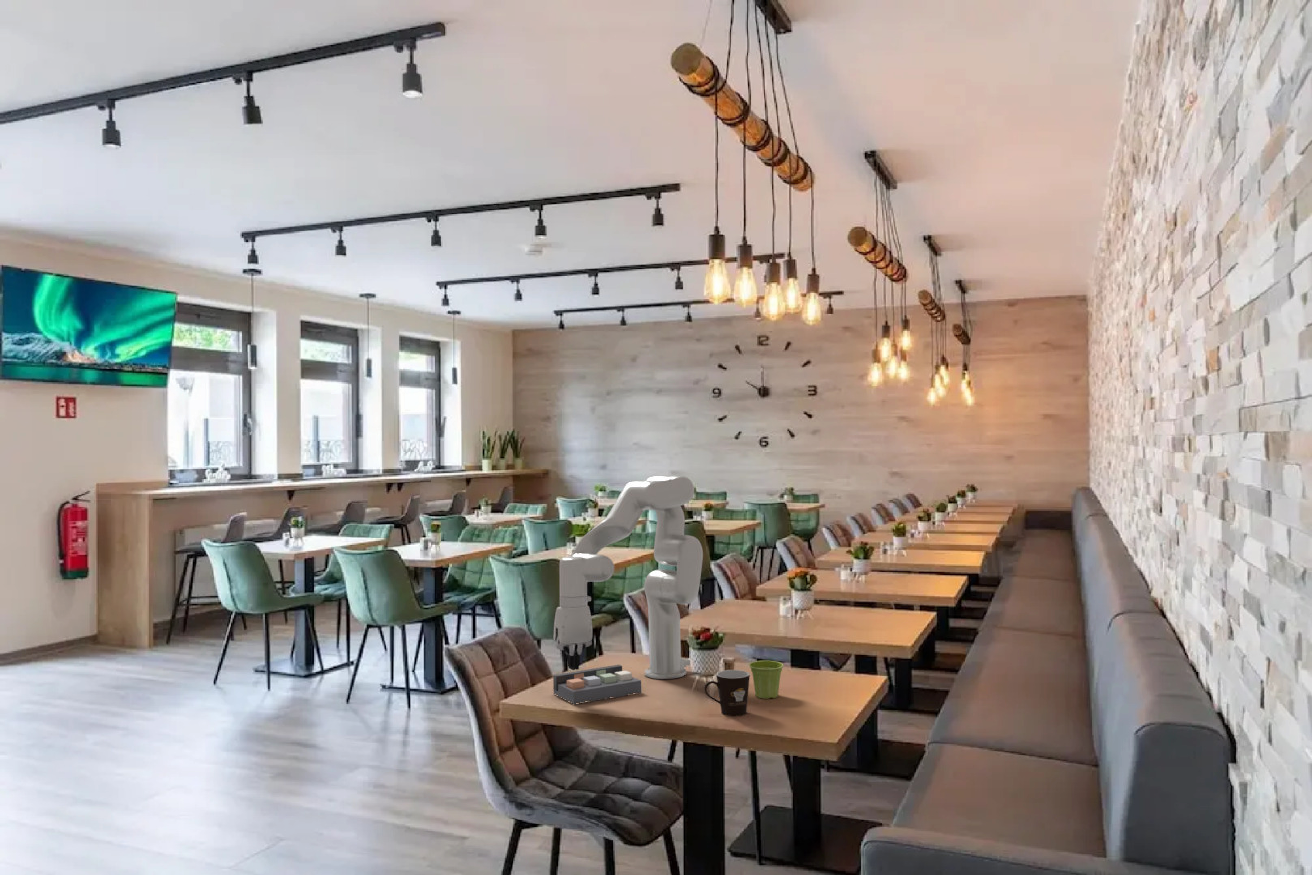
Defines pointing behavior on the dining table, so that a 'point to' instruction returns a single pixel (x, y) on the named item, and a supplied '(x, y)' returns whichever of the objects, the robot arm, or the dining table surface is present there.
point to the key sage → (607, 678)
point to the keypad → (597, 690)
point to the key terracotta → (575, 683)
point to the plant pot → (766, 678)
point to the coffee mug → (732, 691)
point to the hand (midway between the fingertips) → (573, 668)
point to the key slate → (591, 680)
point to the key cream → (623, 675)
